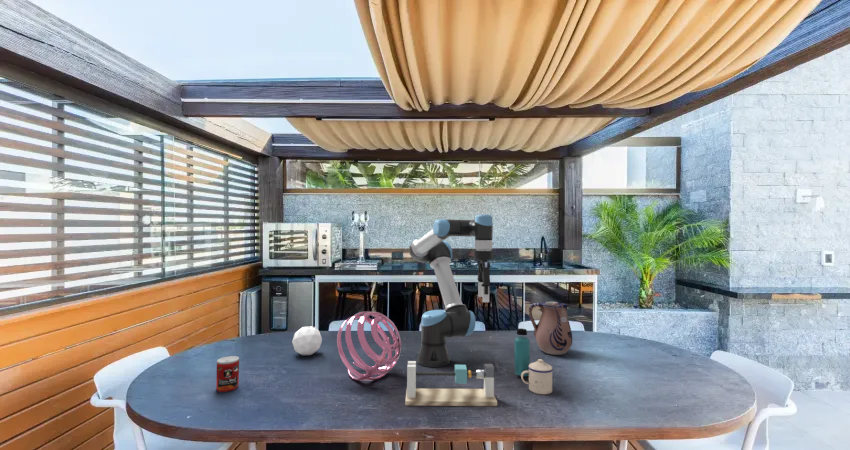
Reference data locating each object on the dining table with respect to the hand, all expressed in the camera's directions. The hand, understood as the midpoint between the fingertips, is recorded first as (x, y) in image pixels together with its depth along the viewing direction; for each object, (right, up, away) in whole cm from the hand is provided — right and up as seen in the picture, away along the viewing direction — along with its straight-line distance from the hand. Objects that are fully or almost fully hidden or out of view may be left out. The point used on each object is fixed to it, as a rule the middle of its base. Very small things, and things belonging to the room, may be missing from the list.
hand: (483, 299), depth 164 cm
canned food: (-101, -31, -19) cm, 107 cm away
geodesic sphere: (-84, -32, +23) cm, 92 cm away
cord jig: (-16, -31, -27) cm, 44 cm away
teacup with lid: (+18, -32, -18) cm, 41 cm away
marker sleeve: (-12, -24, -27) cm, 38 cm away
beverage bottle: (+16, -32, -5) cm, 36 cm away
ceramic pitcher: (+39, -33, +29) cm, 58 cm away
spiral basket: (-48, -31, -6) cm, 58 cm away
